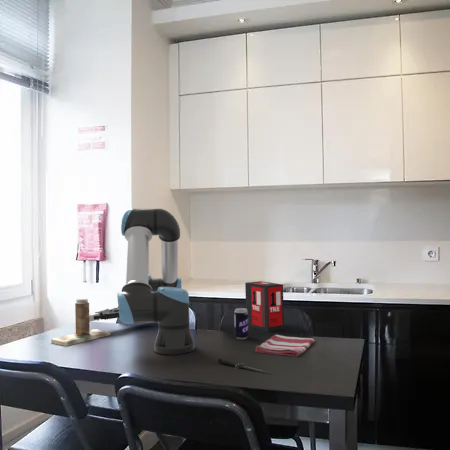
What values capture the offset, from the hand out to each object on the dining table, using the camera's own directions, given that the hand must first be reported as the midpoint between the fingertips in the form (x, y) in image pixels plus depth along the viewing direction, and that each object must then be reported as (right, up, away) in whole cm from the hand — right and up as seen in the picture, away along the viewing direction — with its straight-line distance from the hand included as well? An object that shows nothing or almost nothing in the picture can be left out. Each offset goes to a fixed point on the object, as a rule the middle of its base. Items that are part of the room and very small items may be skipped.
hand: (86, 318), depth 196 cm
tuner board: (-1, -8, -3) cm, 8 cm away
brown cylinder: (0, -6, -3) cm, 7 cm away
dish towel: (+83, -7, -22) cm, 86 cm away
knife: (+67, -7, -49) cm, 84 cm away
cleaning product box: (+77, -7, +13) cm, 79 cm away
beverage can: (+66, -7, -7) cm, 67 cm away
